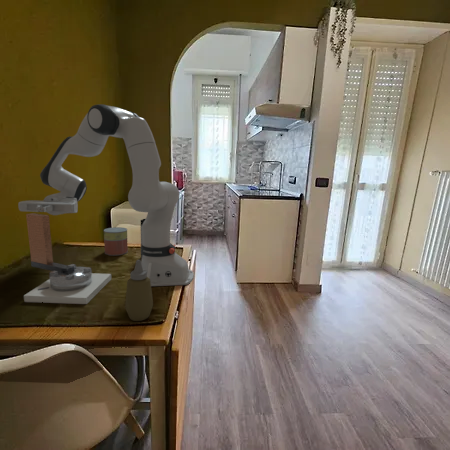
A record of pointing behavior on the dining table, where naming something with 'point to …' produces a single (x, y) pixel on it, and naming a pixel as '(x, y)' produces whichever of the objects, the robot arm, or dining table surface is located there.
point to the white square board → (68, 292)
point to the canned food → (115, 241)
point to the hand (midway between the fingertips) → (40, 209)
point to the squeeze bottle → (139, 294)
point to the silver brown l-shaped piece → (42, 257)
